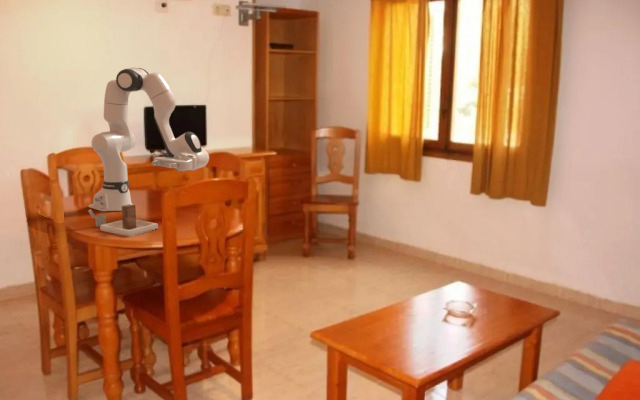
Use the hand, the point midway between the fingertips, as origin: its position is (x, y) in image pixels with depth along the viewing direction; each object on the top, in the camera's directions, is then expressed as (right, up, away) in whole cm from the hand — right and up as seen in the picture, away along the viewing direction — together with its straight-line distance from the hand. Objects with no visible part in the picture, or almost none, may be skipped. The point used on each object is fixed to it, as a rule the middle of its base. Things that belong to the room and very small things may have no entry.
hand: (160, 164), depth 272 cm
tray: (-11, -29, -11) cm, 33 cm away
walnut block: (-11, -28, -11) cm, 32 cm away
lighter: (-26, -28, -7) cm, 39 cm away
